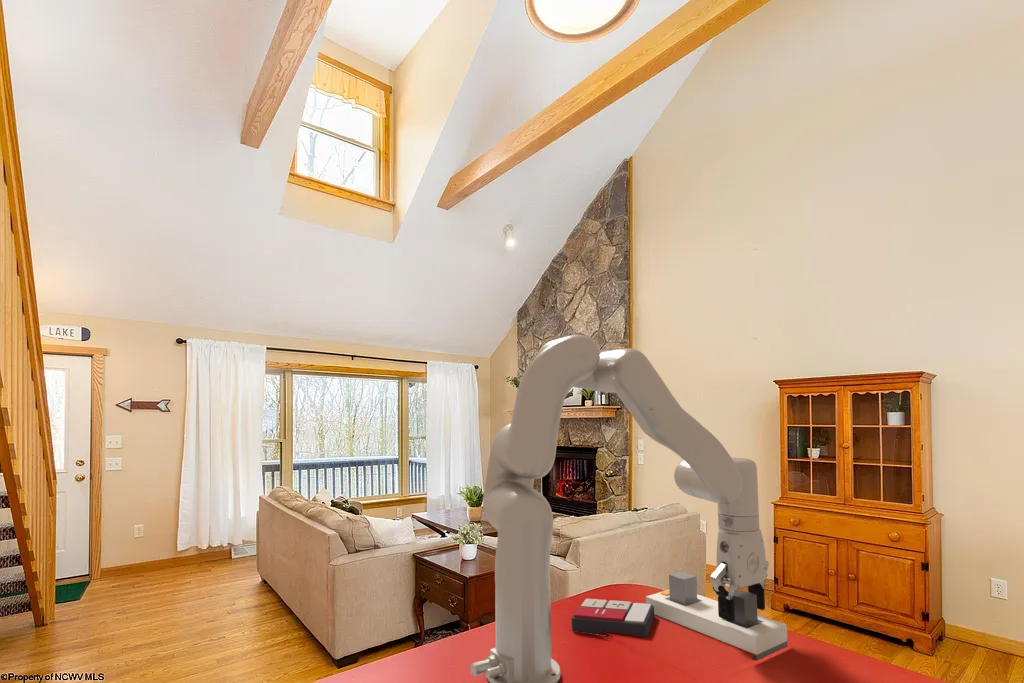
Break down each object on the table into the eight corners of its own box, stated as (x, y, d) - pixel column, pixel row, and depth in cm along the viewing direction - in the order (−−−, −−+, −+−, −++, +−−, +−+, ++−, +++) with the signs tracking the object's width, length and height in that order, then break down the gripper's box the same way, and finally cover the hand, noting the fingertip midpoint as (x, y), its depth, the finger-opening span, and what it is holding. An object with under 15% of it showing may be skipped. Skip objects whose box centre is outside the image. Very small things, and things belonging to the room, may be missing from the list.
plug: (745, 643, 110) (744, 598, 110) (727, 635, 113) (725, 592, 114) (758, 637, 112) (756, 594, 113) (739, 630, 115) (738, 588, 116)
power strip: (756, 660, 105) (755, 635, 105) (646, 615, 126) (645, 595, 126) (787, 646, 110) (786, 622, 111) (676, 605, 132) (676, 585, 132)
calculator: (584, 596, 129) (653, 601, 123) (585, 616, 128) (655, 622, 123) (570, 614, 119) (645, 620, 113) (571, 636, 118) (647, 643, 113)
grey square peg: (685, 619, 121) (684, 579, 122) (670, 613, 124) (668, 574, 125) (697, 615, 123) (696, 575, 124) (682, 609, 127) (681, 571, 127)
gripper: (728, 532, 106) (732, 630, 105) (781, 520, 116) (785, 609, 115) (694, 525, 112) (697, 617, 111) (747, 513, 122) (750, 598, 121)
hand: (742, 613), depth 113 cm, fingers open, 9 cm apart
